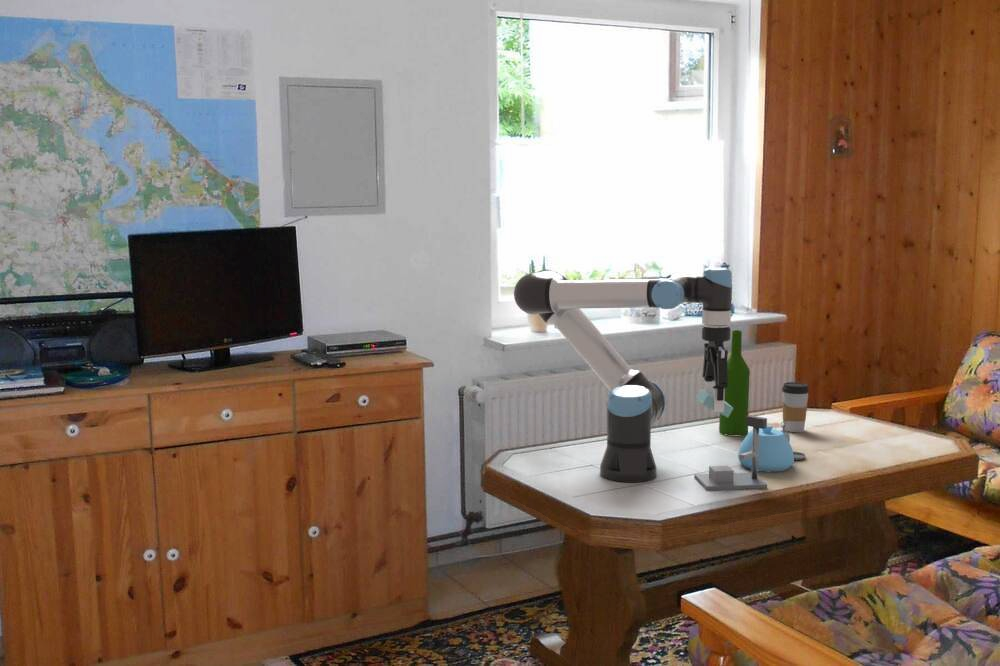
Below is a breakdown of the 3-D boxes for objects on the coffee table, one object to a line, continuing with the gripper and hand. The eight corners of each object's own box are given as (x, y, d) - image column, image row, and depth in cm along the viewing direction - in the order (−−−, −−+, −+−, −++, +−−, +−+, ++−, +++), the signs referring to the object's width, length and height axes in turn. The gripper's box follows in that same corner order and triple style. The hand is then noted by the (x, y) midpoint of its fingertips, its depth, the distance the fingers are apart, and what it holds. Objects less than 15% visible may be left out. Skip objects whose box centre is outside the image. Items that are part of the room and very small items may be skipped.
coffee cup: (810, 433, 309) (812, 387, 307) (784, 433, 309) (786, 386, 307) (802, 427, 317) (804, 381, 315) (777, 427, 317) (778, 381, 315)
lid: (702, 404, 263) (708, 394, 263) (695, 397, 271) (700, 388, 270) (728, 417, 264) (733, 408, 263) (720, 410, 272) (725, 401, 271)
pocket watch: (806, 461, 277) (808, 427, 276) (775, 460, 279) (777, 425, 278) (803, 454, 285) (805, 420, 284) (773, 452, 287) (775, 419, 285)
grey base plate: (706, 490, 251) (706, 475, 251) (694, 477, 262) (694, 463, 262) (767, 488, 253) (767, 473, 252) (752, 476, 264) (753, 461, 263)
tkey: (749, 484, 252) (751, 422, 249) (732, 480, 255) (734, 419, 253) (764, 479, 257) (767, 418, 254) (748, 475, 260) (750, 415, 258)
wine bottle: (753, 435, 307) (757, 332, 302) (726, 437, 305) (730, 333, 300) (739, 428, 316) (743, 328, 311) (714, 430, 314) (717, 329, 309)
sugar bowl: (731, 459, 280) (732, 419, 279) (782, 458, 281) (784, 418, 280) (747, 474, 266) (748, 432, 264) (801, 473, 267) (803, 431, 265)
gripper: (742, 331, 254) (739, 416, 257) (718, 320, 275) (716, 399, 278) (713, 331, 253) (711, 417, 257) (692, 320, 274) (690, 400, 277)
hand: (714, 408), depth 267 cm, fingers closed on lid, 8 cm apart
